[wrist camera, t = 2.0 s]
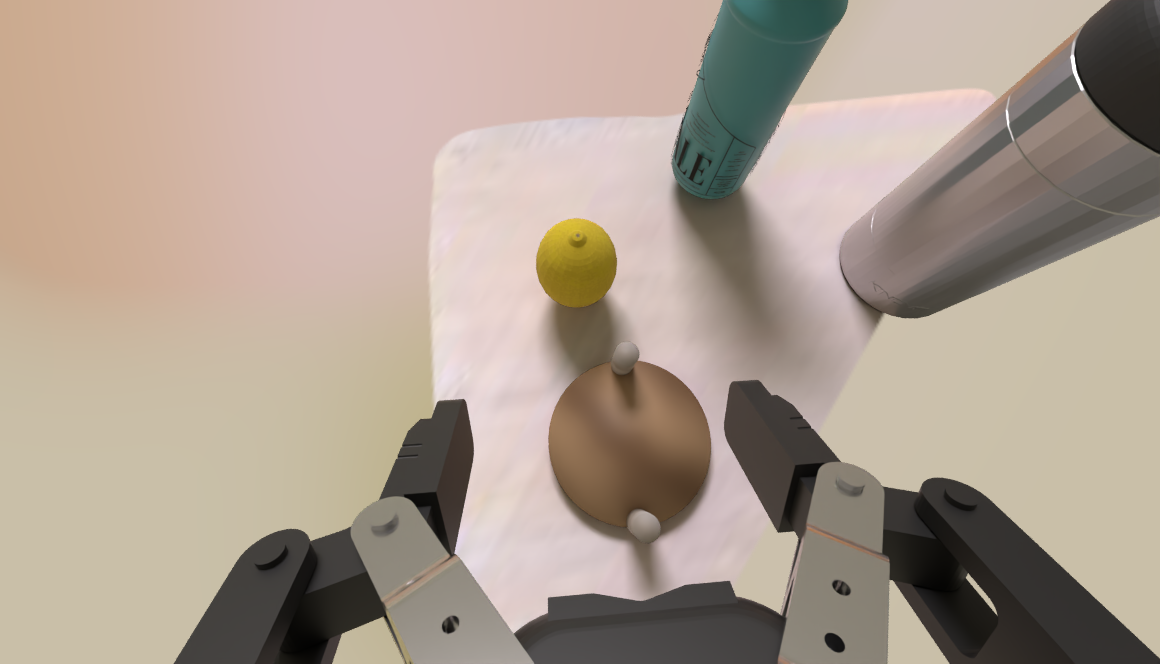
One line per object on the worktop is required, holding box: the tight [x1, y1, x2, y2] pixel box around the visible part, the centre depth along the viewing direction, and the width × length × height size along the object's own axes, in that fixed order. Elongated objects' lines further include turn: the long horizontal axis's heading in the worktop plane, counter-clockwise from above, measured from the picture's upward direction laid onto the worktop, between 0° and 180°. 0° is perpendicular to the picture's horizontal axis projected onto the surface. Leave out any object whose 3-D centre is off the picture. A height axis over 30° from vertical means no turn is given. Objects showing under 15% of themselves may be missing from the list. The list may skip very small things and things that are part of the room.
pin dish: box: [548, 342, 711, 543], centre depth 29 cm, size 11×11×4 cm
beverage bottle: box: [671, 0, 848, 199], centre depth 28 cm, size 6×7×20 cm
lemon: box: [536, 218, 617, 307], centre depth 30 cm, size 6×6×8 cm
